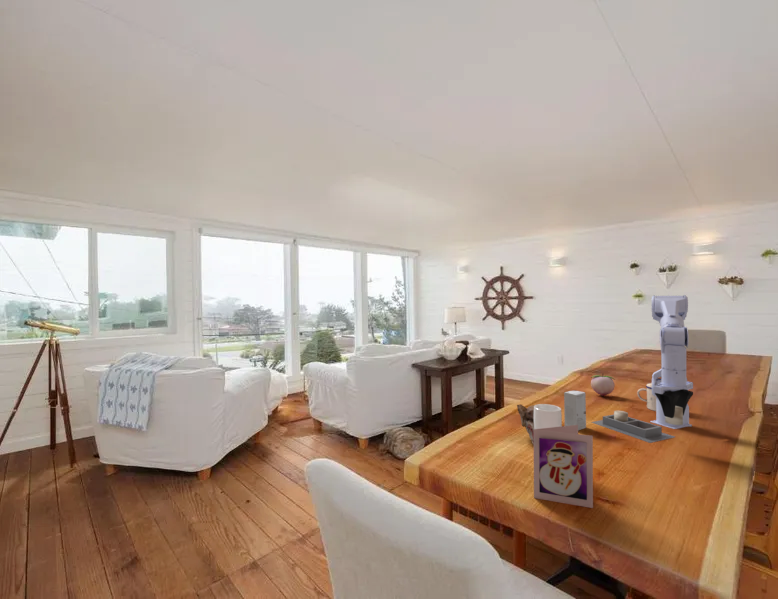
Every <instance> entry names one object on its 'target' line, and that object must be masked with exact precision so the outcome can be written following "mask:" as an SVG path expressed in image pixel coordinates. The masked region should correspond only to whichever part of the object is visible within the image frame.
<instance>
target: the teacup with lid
mask: <svg viewBox="0 0 778 599" xmlns="http://www.w3.org/2000/svg"><path fill="white" fill-rule="evenodd" d="M645 387H646V388H644V387H643V388H639V389H638V390H637V392H636V394H637V397H638V399H639V400H641V401H643V402H646V408H647V409H648V410H650V411H653V412H656V396H653V395H652V382H651V383H646V386H645ZM641 391H645V392H646V399H645V398H643V397H641V394H640V392H641Z"/></svg>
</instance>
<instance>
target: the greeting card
mask: <svg viewBox="0 0 778 599" xmlns="http://www.w3.org/2000/svg"><path fill="white" fill-rule="evenodd" d="M593 442H594V441H593V435H588V434H587V435H586V434H579V430H578V425H570V426H565V425H564V426H563V425H562V426H561V427H551V428H542V429H534V445H533V499H538V500H545V501H550V502H556V503H562V504H567V505H572V506H579V507H584V508H585V507H586V508H591V509H593V508H594V487H593V486H594V484H593V483H594V479H593V478H594V474H593V473H594V461H593V460H594V458H593V457H594V455H593V453H594V452H593V450H594V448H593V447H594V446H593V445H594V443H593Z"/></svg>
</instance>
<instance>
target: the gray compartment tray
mask: <svg viewBox="0 0 778 599" xmlns="http://www.w3.org/2000/svg"><path fill="white" fill-rule="evenodd" d="M590 423H592V424H595V425H597V426H599V427H603V428H607V429H609V430H612V431H614V432H617V433H621V434H623V435H626V436H629V437H632V438H635V439H638V440H640V441H643V442H646V443H648V444H649V443H650V444H652V443H656V442H660V441H665V440H669V439H673V438H676V436H674V435H671V434H668V433H665V432H662V430H663V429H662V428H663V427H662V426H661V425H658V424H655V423H652V422H647V421H643V420H640V419H638V418H637V419H636V418H633V417H630V416H628V421H627V422H621V421H618V420H615V419H614V414H610V415H604V416H602V419H600V420H596V421H592V422H590Z"/></svg>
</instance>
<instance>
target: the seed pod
mask: <svg viewBox="0 0 778 599" xmlns="http://www.w3.org/2000/svg"><path fill="white" fill-rule="evenodd" d="M535 405H536V404H535ZM535 405H533V404H532V405H530V406H528V407H526V406H524V405H523V404H517V405H516V406H517V411H518V412H517V413H518V415H519V417H520V421H521V426H522V427H524V428H525V430H526V432H527V434H528V436H529V439H530V441H531V443H532V445H533V446H534V406H535Z"/></svg>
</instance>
